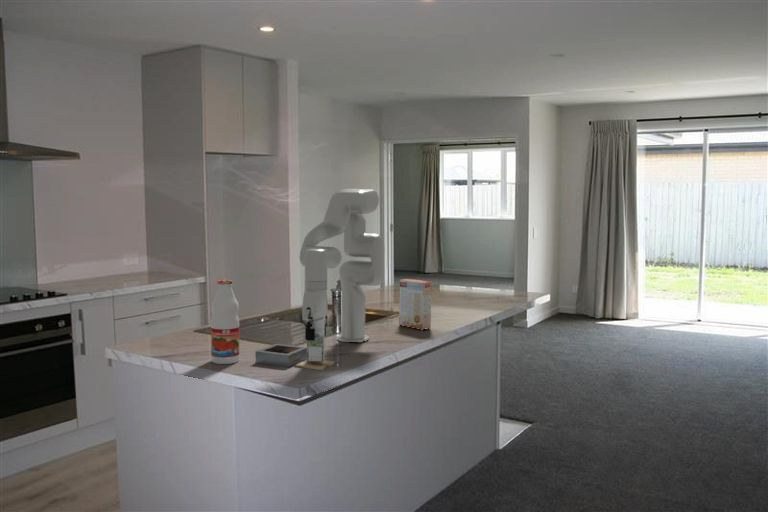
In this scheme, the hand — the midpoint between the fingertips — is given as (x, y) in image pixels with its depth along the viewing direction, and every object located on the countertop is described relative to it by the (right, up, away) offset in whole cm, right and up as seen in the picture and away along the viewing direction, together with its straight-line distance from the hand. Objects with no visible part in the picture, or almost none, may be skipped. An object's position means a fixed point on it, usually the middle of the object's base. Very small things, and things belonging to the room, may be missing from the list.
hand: (315, 337), depth 222 cm
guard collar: (-12, -9, +6) cm, 16 cm away
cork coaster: (0, -9, +1) cm, 9 cm away
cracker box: (+37, -4, +66) cm, 76 cm away
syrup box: (0, -8, +1) cm, 8 cm away
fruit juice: (-31, -9, +4) cm, 33 cm away
